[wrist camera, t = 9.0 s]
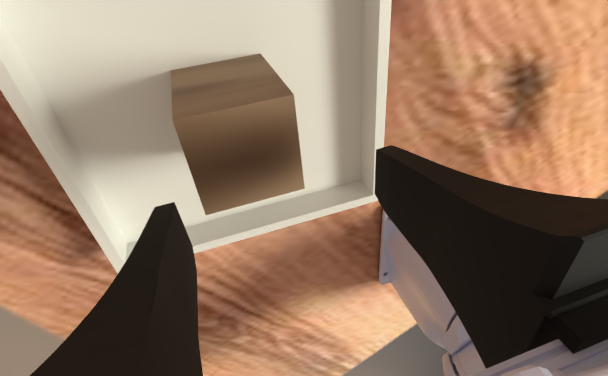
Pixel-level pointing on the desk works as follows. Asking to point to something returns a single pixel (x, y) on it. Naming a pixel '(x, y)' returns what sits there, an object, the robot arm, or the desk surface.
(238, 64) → the walnut block
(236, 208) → the tray
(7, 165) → the desk surface
